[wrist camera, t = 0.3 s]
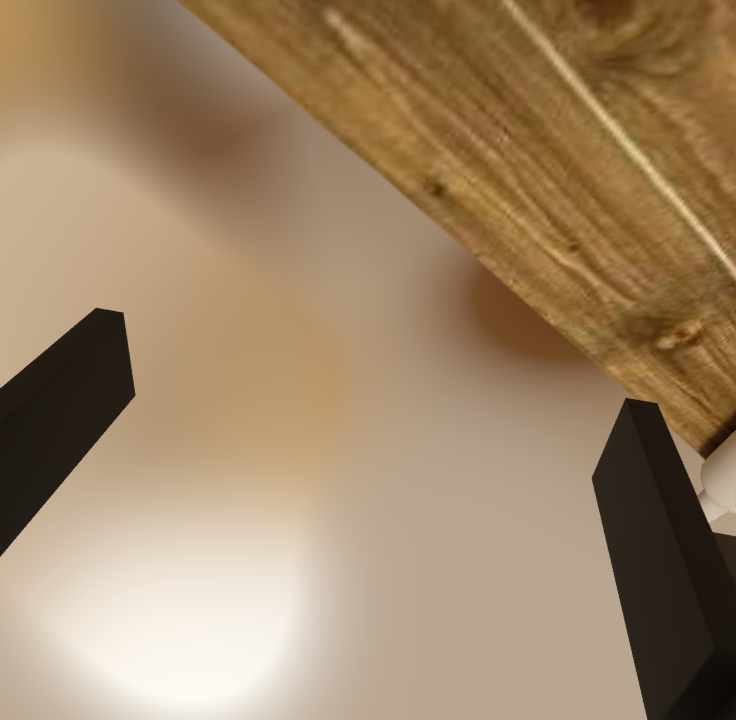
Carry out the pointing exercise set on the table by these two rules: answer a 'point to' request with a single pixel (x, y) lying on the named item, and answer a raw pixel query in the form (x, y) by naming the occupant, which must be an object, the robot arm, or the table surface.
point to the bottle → (719, 480)
